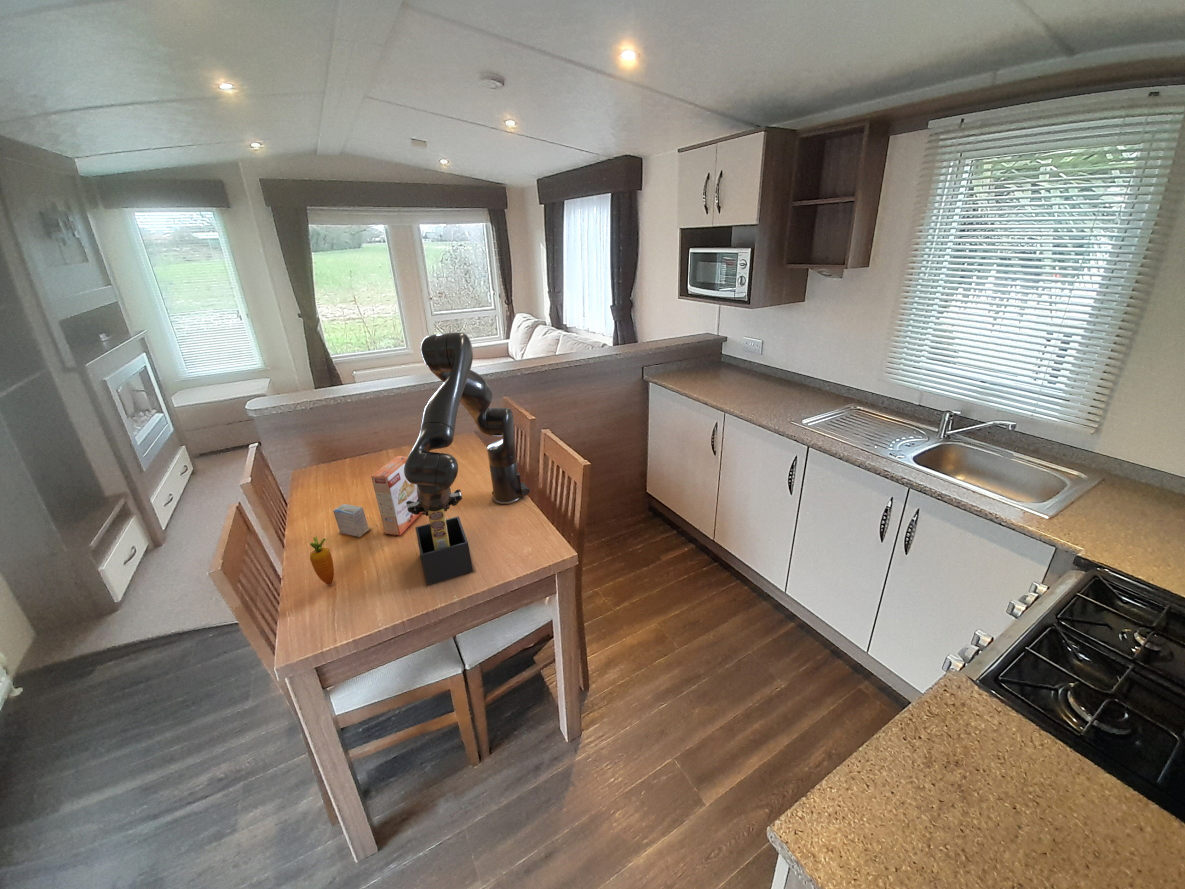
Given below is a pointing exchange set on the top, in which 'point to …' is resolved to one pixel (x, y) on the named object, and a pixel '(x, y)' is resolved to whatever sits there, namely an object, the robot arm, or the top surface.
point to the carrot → (322, 561)
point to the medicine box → (351, 520)
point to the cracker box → (394, 496)
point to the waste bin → (444, 553)
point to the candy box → (439, 529)
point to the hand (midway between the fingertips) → (435, 510)
